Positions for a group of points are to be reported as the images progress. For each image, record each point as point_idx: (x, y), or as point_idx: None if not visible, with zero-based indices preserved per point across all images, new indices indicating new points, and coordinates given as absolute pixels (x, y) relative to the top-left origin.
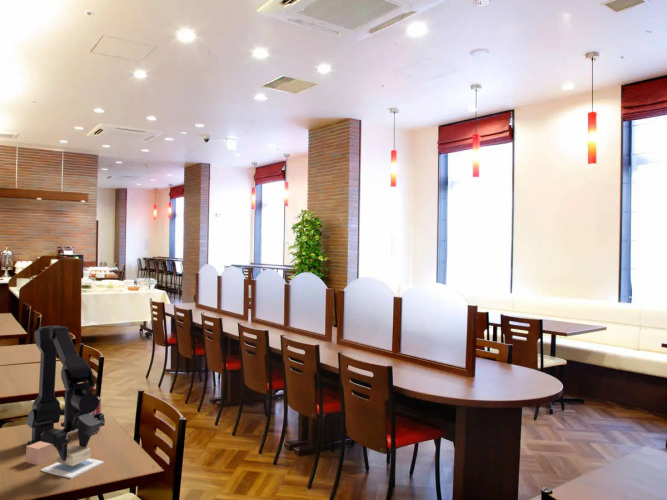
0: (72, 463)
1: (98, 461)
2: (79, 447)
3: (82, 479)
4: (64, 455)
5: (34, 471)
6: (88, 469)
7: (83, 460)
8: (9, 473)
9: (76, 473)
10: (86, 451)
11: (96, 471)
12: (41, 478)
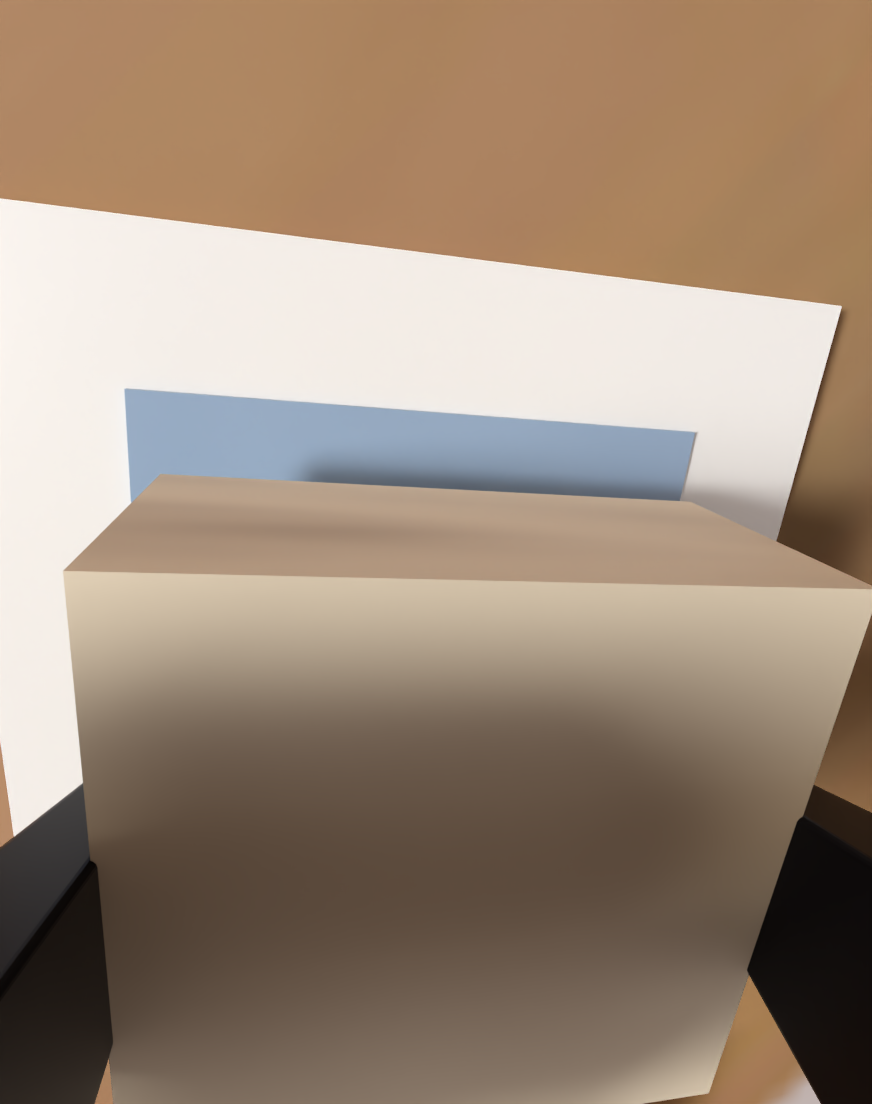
0: (722, 525)
1: (7, 328)
2: (226, 944)
3: (812, 58)
4: (867, 814)
5: None
6: (435, 257)
7: (395, 489)
8: (775, 1075)
9: (695, 330)
10: (298, 559)
11: (406, 25)
12: (848, 723)
